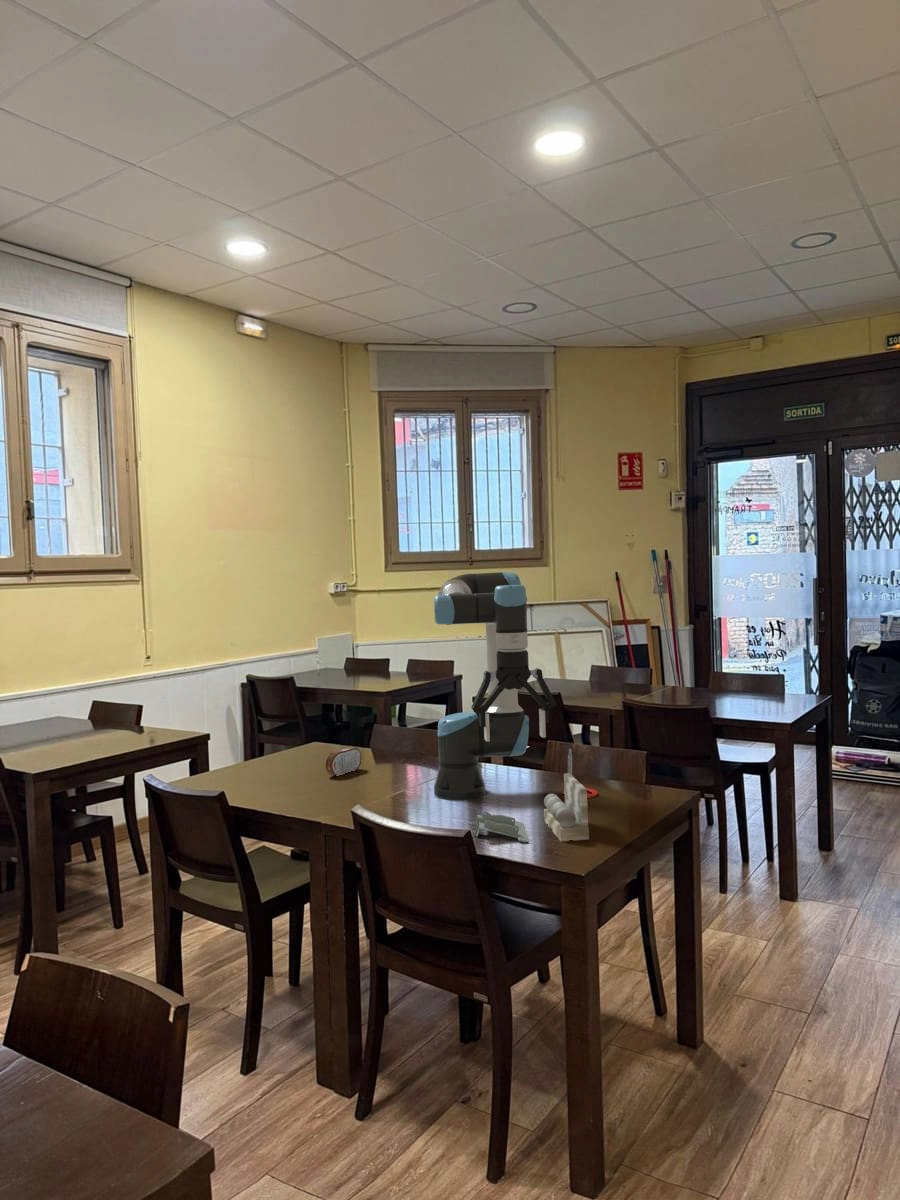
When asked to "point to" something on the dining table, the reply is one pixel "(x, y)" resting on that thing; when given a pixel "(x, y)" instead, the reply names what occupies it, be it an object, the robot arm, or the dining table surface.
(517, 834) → the metal bracket
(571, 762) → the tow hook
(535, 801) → the dining table surface
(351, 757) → the tin
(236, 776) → the dining table surface
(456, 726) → the robot arm
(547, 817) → the hinge seat
